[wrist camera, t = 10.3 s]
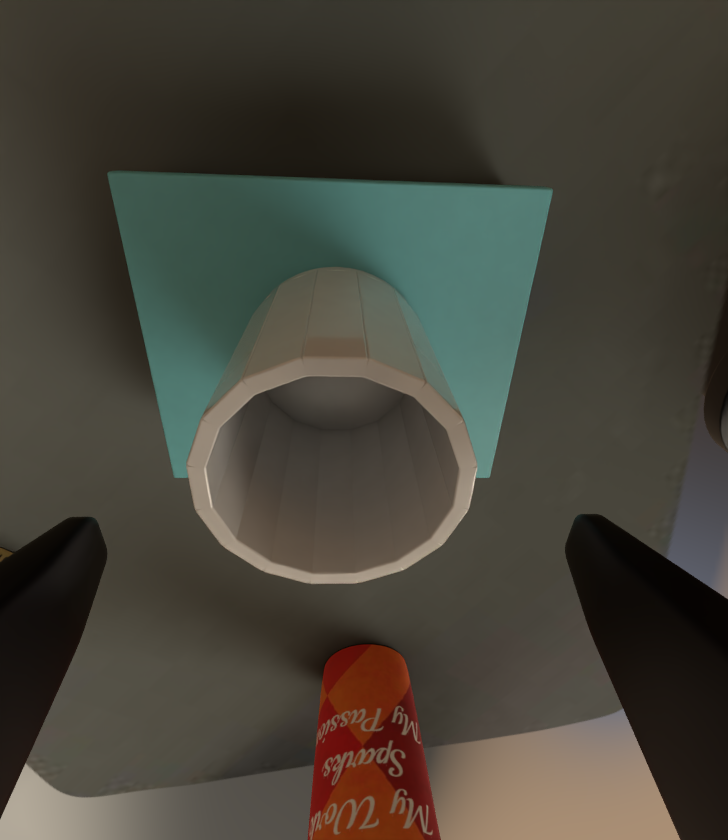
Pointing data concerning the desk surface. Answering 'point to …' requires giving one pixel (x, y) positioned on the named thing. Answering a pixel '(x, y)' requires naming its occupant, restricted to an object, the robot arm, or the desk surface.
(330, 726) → the paper cup
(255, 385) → the beige cup
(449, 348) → the teal flat box
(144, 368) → the desk surface
